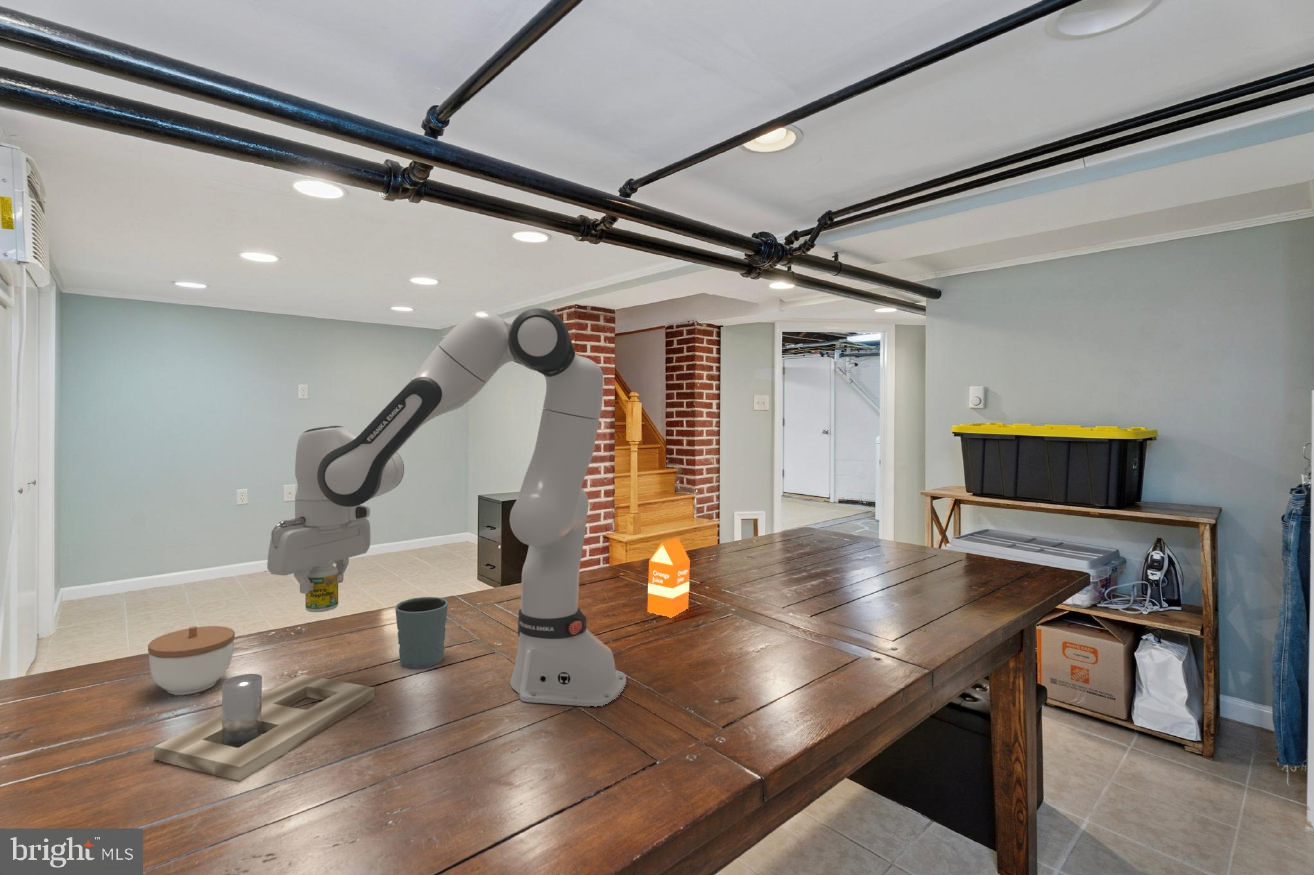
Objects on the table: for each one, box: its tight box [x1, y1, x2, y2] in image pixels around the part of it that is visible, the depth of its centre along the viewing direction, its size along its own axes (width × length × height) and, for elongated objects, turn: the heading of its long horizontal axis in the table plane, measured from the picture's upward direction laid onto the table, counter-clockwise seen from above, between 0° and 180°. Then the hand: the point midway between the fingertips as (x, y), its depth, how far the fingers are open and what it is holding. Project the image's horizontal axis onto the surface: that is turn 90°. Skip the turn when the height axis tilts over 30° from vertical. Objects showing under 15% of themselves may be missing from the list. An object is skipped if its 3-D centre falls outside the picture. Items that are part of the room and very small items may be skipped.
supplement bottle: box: [304, 558, 339, 613], centre depth 112 cm, size 5×5×10 cm
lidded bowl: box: [147, 625, 236, 696], centre depth 111 cm, size 13×13×11 cm
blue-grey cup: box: [394, 596, 449, 670], centre depth 126 cm, size 10×10×12 cm
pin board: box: [153, 674, 375, 782], centre depth 98 cm, size 16×26×2 cm, turn 165°
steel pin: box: [221, 673, 263, 748], centre depth 92 cm, size 5×5×10 cm
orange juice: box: [647, 537, 691, 618], centre depth 161 cm, size 8×9×20 cm
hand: (322, 587), depth 112 cm, fingers closed on supplement bottle, 5 cm apart
